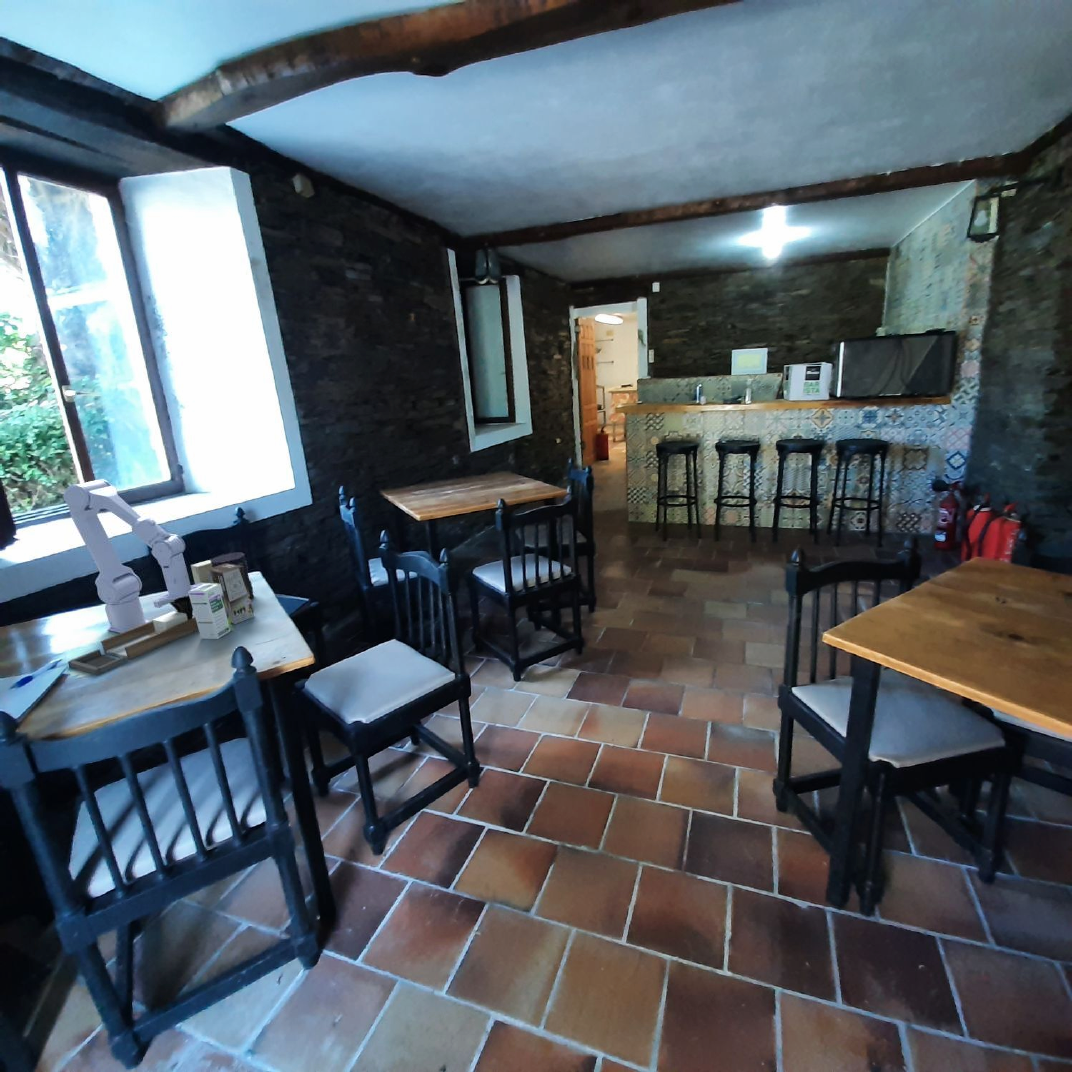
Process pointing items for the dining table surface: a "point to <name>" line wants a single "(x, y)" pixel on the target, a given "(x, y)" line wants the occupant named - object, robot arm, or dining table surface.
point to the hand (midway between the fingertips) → (188, 620)
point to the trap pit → (96, 662)
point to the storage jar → (236, 560)
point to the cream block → (169, 621)
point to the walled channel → (145, 638)
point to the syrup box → (210, 611)
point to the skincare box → (201, 572)
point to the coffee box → (233, 590)
